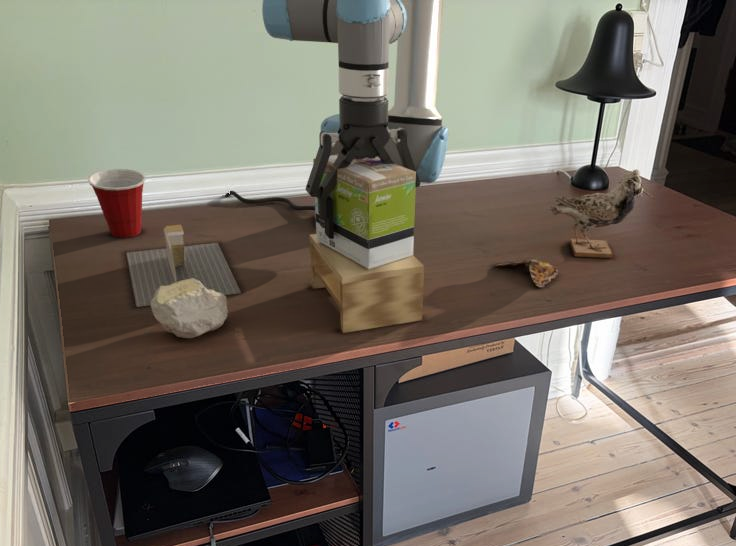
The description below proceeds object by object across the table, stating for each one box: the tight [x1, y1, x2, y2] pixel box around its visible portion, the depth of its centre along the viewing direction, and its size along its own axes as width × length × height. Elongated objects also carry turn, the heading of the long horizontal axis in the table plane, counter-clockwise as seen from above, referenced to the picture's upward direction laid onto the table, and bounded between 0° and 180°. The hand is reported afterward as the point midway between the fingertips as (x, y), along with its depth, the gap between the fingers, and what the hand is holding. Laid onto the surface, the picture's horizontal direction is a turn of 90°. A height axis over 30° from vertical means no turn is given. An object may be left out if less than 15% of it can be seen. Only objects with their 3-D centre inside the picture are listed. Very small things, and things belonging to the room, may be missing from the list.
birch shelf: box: [308, 233, 425, 334], centre depth 127 cm, size 14×19×10 cm
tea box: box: [312, 154, 416, 269], centre depth 121 cm, size 15×10×15 cm, turn 42°
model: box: [163, 224, 187, 281], centre depth 136 cm, size 3×11×8 cm, turn 23°
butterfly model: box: [495, 258, 560, 288], centre depth 143 cm, size 9×12×3 cm
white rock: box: [149, 278, 229, 339], centre depth 117 cm, size 12×8×10 cm
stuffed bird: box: [548, 169, 653, 259], centre depth 151 cm, size 10×20×17 cm, turn 107°
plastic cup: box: [87, 168, 147, 238], centre depth 150 cm, size 11×11×12 cm
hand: (364, 232), depth 123 cm, fingers closed on tea box, 11 cm apart
